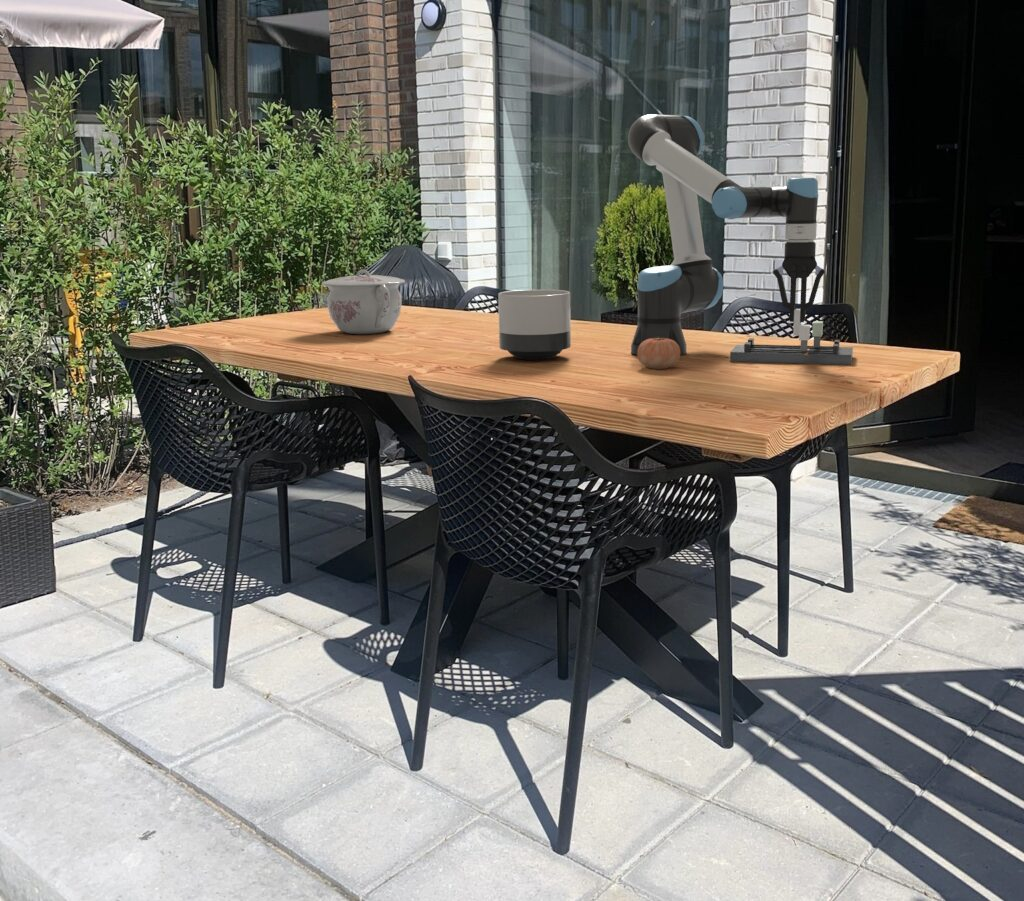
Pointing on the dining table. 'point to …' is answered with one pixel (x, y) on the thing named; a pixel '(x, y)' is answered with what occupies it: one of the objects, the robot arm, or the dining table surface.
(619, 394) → the dining table surface
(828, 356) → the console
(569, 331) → the planter
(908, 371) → the dining table surface
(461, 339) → the dining table surface
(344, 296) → the chamber pot
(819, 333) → the fader
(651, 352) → the small orange pumpkin
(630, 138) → the robot arm
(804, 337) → the fader
